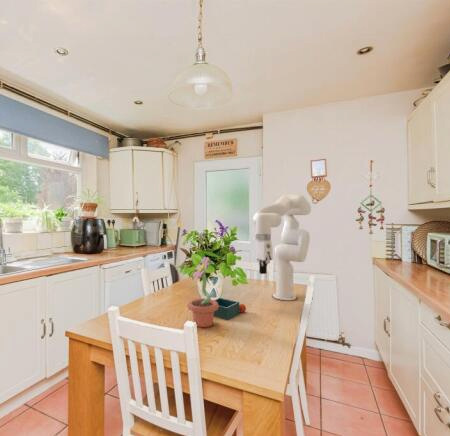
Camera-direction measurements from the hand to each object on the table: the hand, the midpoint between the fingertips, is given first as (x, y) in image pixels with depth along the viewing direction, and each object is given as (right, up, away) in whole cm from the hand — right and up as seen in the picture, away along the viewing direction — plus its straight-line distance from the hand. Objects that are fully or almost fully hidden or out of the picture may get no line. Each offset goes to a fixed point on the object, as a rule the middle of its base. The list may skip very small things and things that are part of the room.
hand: (263, 273), depth 140 cm
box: (-21, -19, -4) cm, 29 cm away
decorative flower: (-32, -19, -17) cm, 41 cm away
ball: (-11, -19, -2) cm, 22 cm away
